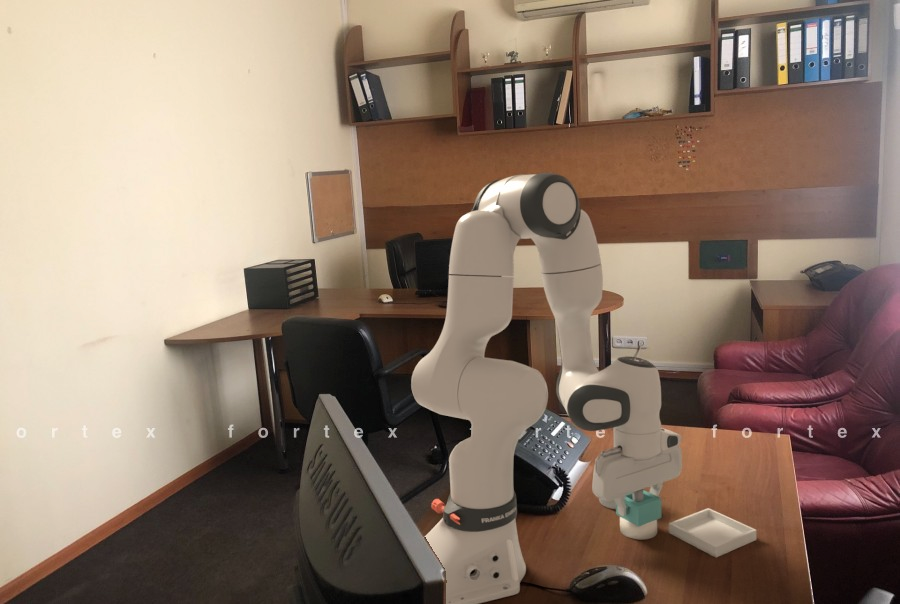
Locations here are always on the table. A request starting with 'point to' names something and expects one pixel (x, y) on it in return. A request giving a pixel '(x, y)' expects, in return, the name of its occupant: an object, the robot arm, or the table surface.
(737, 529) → the tray
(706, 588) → the table surface
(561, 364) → the robot arm
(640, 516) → the teal hollow block
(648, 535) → the peg stand
